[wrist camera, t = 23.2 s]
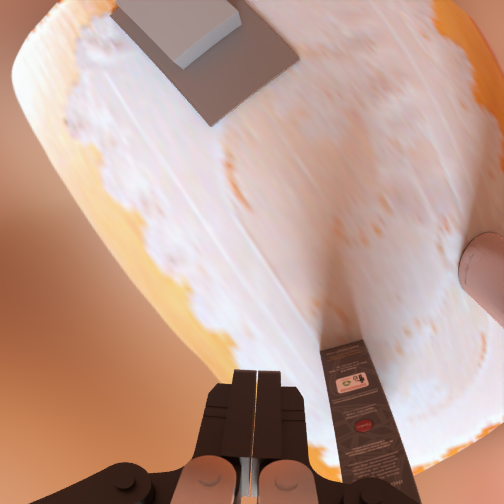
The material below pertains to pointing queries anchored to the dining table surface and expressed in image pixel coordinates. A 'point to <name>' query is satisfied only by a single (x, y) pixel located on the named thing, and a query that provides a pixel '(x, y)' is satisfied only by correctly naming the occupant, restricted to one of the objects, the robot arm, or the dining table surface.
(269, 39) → the slate board
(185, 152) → the dining table surface
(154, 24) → the slab
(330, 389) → the cake mix box
